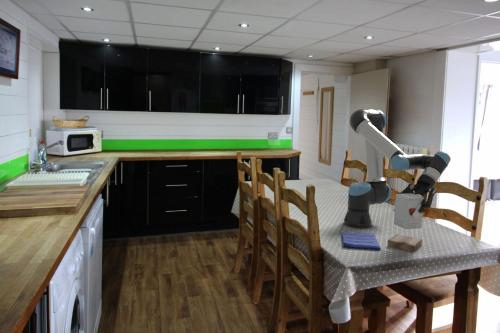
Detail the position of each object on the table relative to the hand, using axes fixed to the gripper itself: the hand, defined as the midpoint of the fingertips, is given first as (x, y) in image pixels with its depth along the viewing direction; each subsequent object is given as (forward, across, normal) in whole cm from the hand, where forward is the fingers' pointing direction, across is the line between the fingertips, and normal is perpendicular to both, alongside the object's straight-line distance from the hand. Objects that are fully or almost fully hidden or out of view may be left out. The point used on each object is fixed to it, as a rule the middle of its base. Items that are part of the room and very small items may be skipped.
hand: (403, 214), depth 179 cm
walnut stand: (+9, +1, -13) cm, 16 cm away
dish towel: (+20, +15, -3) cm, 25 cm away
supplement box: (+2, 0, -7) cm, 7 cm away
